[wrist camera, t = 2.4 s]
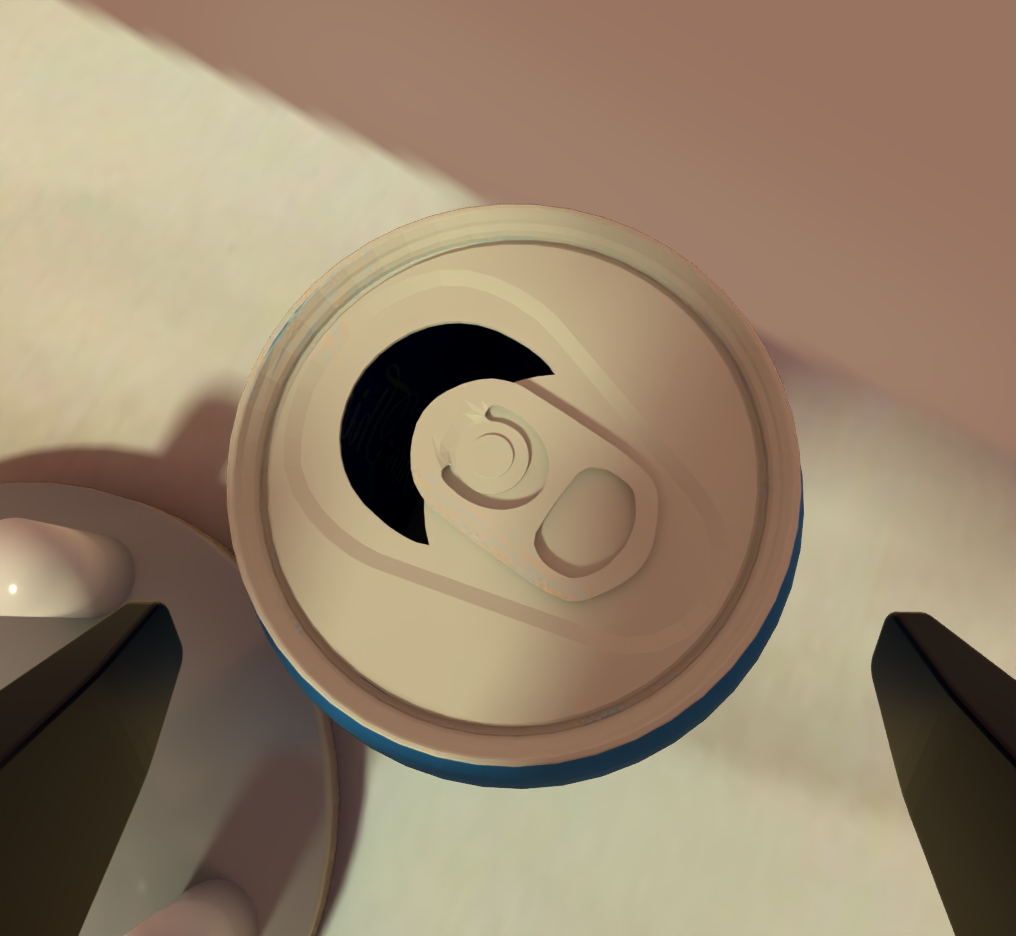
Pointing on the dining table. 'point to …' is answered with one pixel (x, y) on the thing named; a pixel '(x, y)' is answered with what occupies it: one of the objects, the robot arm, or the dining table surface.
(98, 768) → the robot arm
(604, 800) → the dining table surface
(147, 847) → the peg stand
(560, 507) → the beverage can
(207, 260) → the dining table surface
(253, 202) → the dining table surface
